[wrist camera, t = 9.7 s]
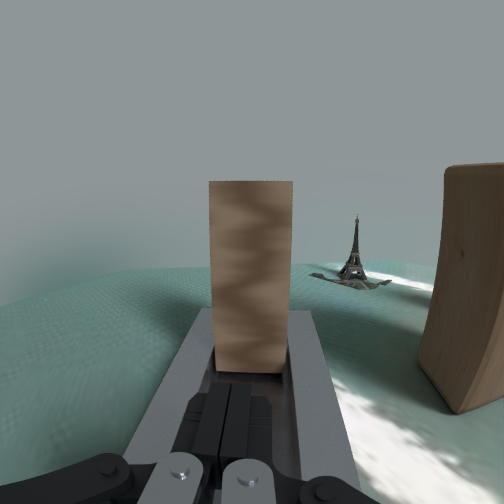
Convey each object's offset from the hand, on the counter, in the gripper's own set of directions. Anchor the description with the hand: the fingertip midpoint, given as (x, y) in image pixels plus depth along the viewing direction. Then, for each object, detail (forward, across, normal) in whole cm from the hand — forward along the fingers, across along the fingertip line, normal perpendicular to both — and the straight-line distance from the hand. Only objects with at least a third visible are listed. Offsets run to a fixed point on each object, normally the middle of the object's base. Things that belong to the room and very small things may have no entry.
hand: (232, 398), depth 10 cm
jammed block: (+15, 0, +8) cm, 17 cm away
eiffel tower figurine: (+44, -18, +10) cm, 49 cm away
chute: (+10, 0, +9) cm, 14 cm away
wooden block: (+9, -22, +9) cm, 25 cm away
